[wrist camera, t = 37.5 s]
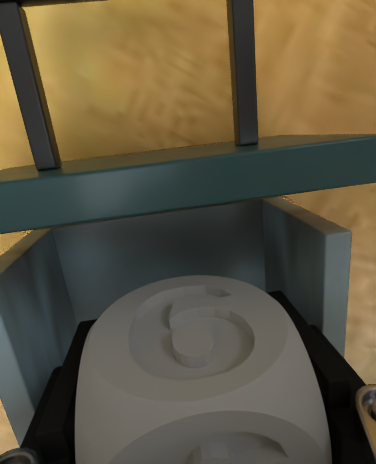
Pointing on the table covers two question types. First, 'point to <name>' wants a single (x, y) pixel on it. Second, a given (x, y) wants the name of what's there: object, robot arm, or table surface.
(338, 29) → the table surface
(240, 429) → the die
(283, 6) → the table surface
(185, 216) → the teal pull-out drawer
